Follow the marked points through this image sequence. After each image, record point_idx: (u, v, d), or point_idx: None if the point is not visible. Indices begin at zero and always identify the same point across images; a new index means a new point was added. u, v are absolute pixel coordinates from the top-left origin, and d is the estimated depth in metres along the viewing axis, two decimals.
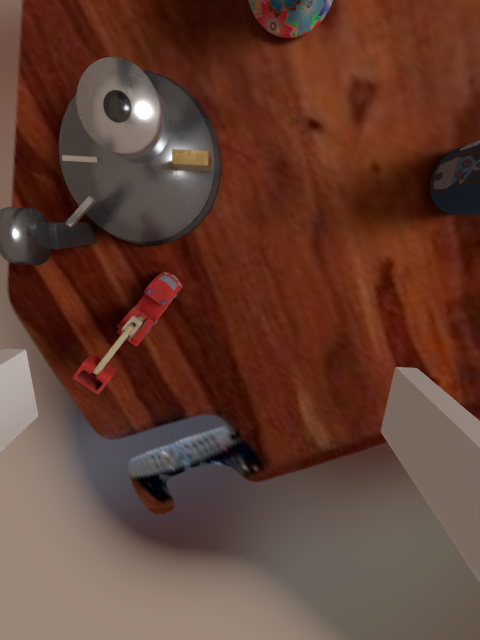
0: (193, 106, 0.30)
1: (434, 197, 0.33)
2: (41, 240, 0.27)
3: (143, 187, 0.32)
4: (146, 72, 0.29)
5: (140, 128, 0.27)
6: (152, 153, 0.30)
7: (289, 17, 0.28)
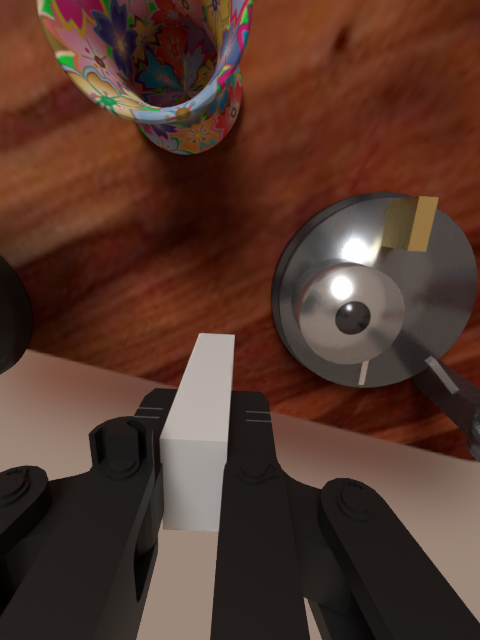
0: (324, 224, 0.23)
1: None
2: None
3: (408, 296, 0.25)
4: (284, 281, 0.24)
5: (380, 291, 0.20)
6: None
7: (232, 82, 0.20)
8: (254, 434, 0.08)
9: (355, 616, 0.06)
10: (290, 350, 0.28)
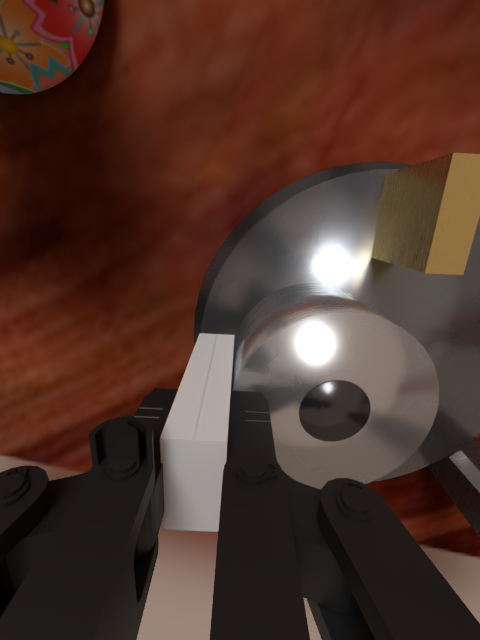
0: (267, 220, 0.13)
1: None
2: None
3: None
4: (205, 320, 0.14)
5: (390, 363, 0.10)
6: None
7: None
8: (254, 434, 0.08)
9: (355, 616, 0.06)
10: None
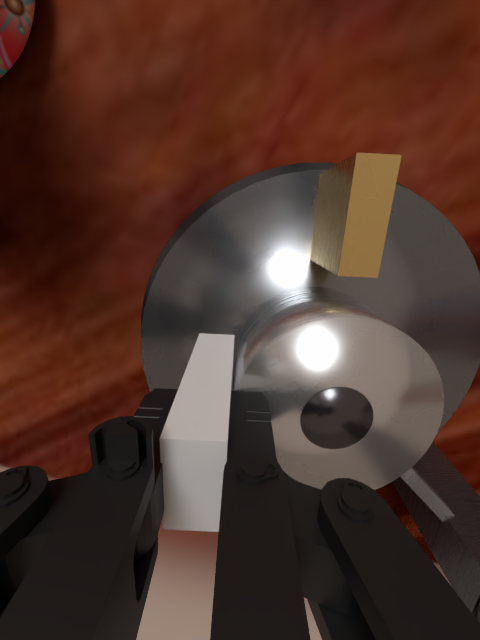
0: (202, 221, 0.12)
1: None
2: None
3: None
4: (145, 321, 0.14)
5: (394, 369, 0.10)
6: None
7: None
8: (254, 434, 0.08)
9: (355, 616, 0.06)
10: None
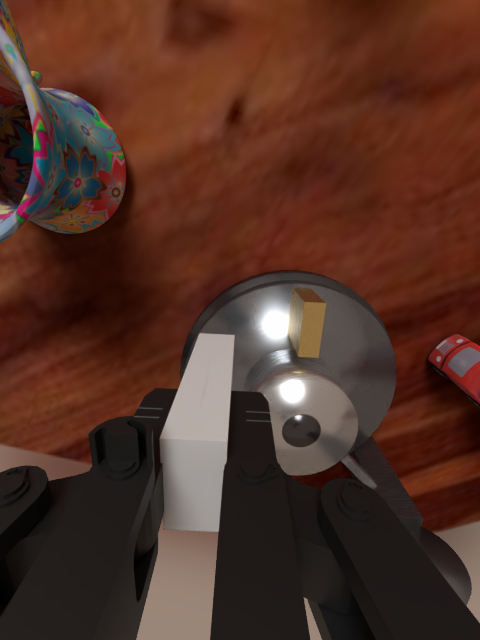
0: (223, 311, 0.21)
1: None
2: None
3: None
4: None
5: (331, 406, 0.18)
6: None
7: (104, 165, 0.18)
8: (254, 434, 0.08)
9: (355, 616, 0.06)
10: None
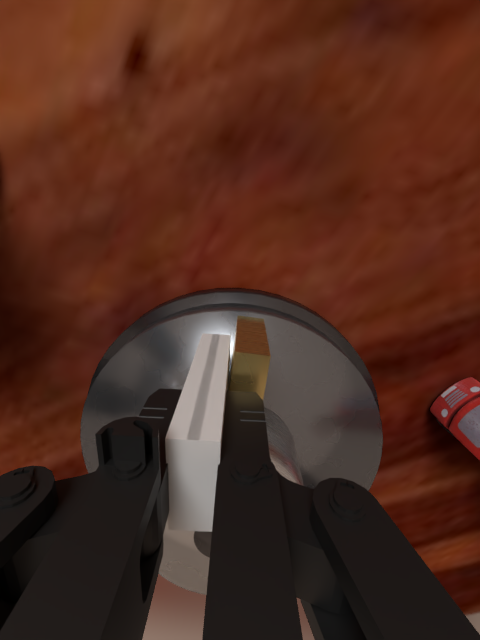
0: (136, 342, 0.14)
1: None
2: None
3: None
4: (84, 416, 0.16)
5: None
6: (294, 450, 0.15)
7: None
8: (248, 434, 0.08)
9: (347, 616, 0.06)
10: None
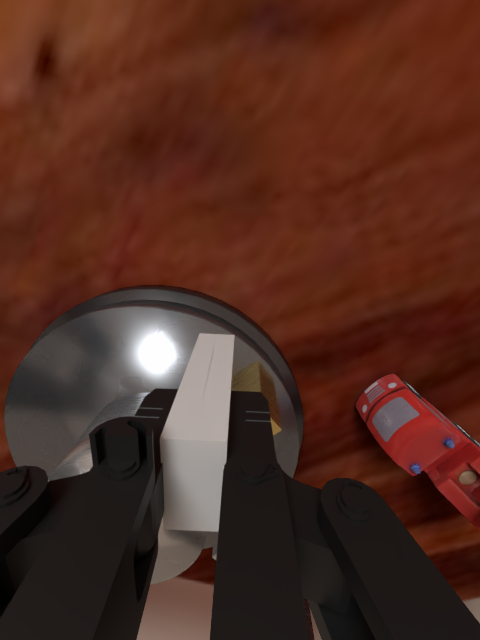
0: (165, 313, 0.14)
1: None
2: None
3: None
4: (60, 329, 0.15)
5: (179, 530, 0.12)
6: None
7: None
8: (254, 433, 0.08)
9: (355, 616, 0.06)
10: None
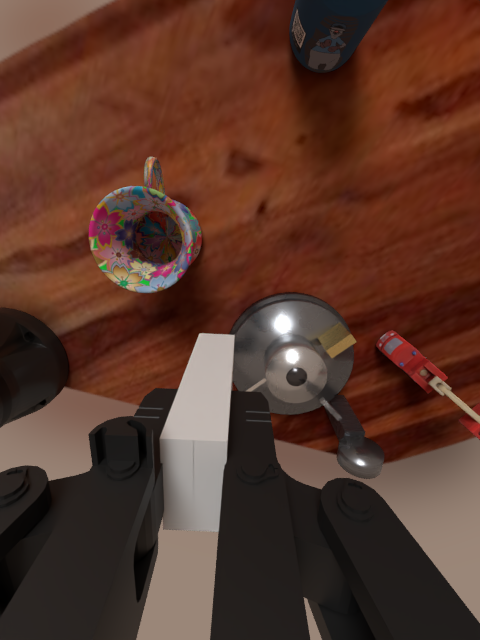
0: (305, 303, 0.37)
1: (340, 65, 0.30)
2: (361, 444, 0.35)
3: None
4: (262, 310, 0.37)
5: (317, 377, 0.35)
6: None
7: (194, 240, 0.35)
8: (254, 433, 0.08)
9: (355, 616, 0.06)
10: None
